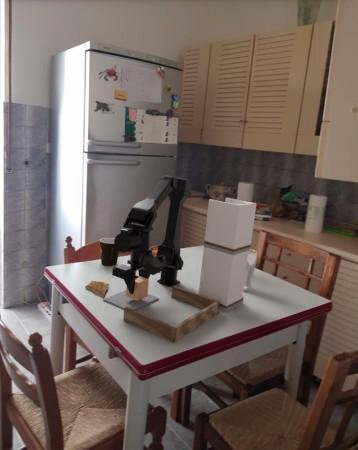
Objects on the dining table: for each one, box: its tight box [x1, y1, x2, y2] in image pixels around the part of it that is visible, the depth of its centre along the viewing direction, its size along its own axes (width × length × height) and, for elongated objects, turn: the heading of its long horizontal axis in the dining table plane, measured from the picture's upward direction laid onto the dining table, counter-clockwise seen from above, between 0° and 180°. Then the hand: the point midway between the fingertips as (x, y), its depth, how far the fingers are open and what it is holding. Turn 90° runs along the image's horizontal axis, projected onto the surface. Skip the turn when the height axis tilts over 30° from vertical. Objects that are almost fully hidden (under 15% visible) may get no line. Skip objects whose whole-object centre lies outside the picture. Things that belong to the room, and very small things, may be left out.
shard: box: [84, 280, 110, 298], centre depth 129 cm, size 11×8×2 cm
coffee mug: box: [99, 237, 120, 267], centre depth 155 cm, size 12×9×10 cm
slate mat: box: [102, 289, 160, 311], centre depth 124 cm, size 14×12×1 cm
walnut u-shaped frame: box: [123, 285, 220, 344], centre depth 115 cm, size 25×18×4 cm
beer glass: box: [243, 248, 258, 292], centre depth 142 cm, size 7×7×15 cm
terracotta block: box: [125, 274, 150, 301], centre depth 122 cm, size 5×5×6 cm
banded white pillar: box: [198, 197, 257, 313], centre depth 126 cm, size 11×11×35 cm
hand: (137, 291), depth 122 cm, fingers closed on terracotta block, 5 cm apart
